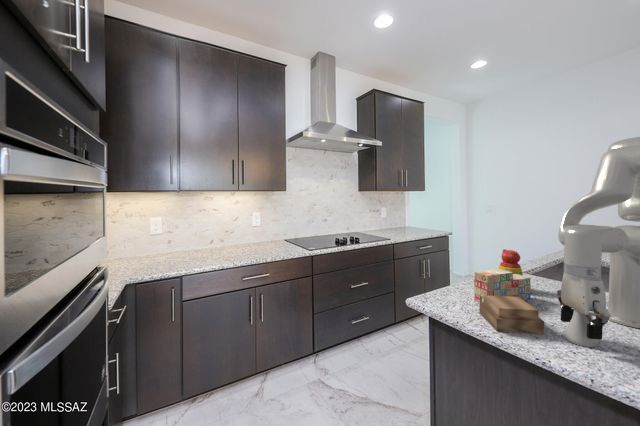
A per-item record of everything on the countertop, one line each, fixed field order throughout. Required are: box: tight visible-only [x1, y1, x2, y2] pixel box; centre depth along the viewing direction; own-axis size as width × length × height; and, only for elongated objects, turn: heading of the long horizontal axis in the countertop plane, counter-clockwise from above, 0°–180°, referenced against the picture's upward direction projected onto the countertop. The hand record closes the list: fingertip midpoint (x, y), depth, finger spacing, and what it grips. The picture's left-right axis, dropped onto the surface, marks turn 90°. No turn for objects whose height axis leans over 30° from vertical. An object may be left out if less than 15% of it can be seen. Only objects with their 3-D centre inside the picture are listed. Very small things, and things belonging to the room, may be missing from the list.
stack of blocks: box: [473, 268, 532, 304], centre depth 105 cm, size 21×6×12 cm, turn 103°
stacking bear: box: [497, 249, 524, 276], centre depth 117 cm, size 11×10×18 cm
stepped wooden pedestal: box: [478, 295, 545, 335], centre depth 86 cm, size 13×13×7 cm
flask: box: [561, 309, 599, 348], centre depth 75 cm, size 7×7×10 cm
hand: (579, 329), depth 75 cm, fingers open, 9 cm apart
